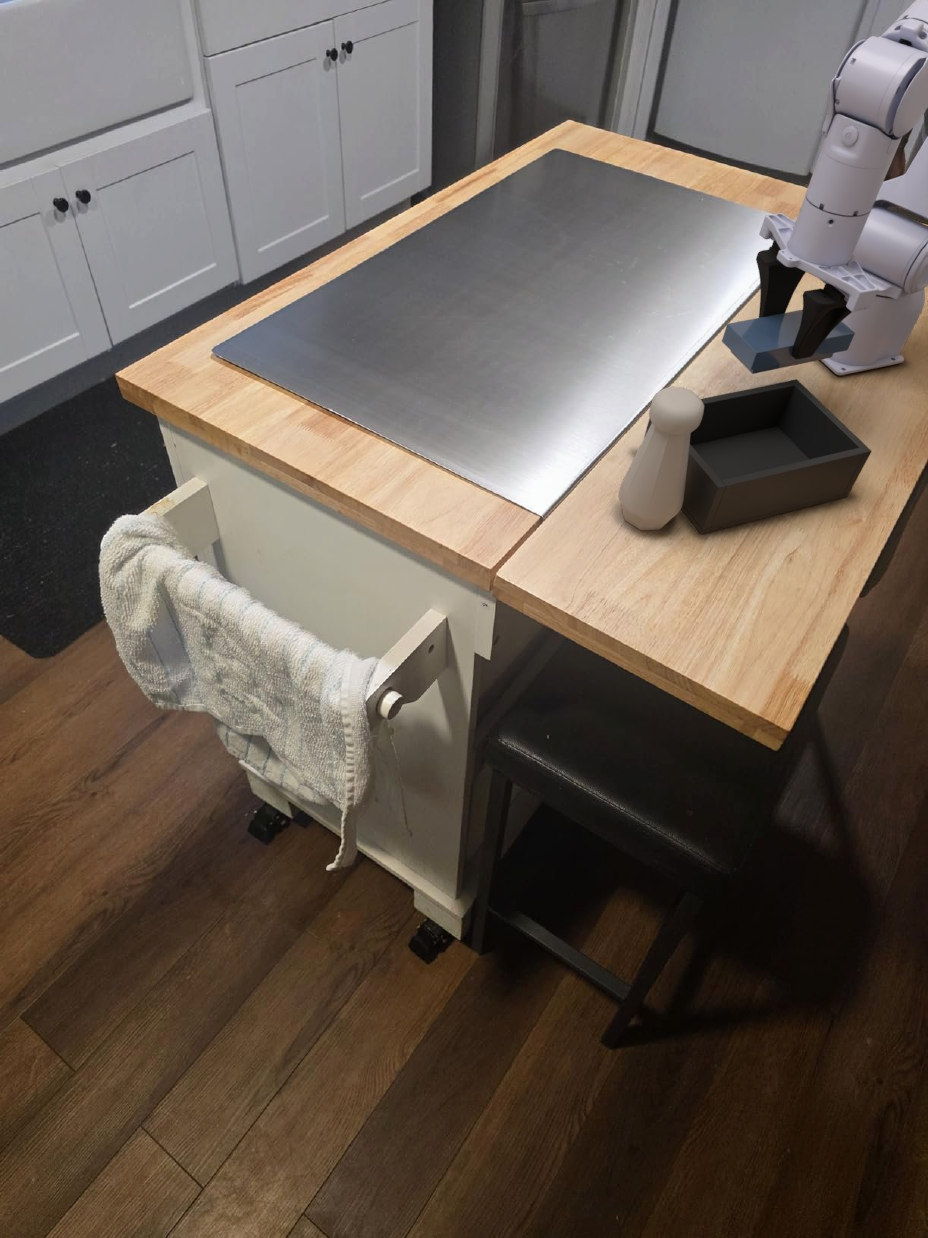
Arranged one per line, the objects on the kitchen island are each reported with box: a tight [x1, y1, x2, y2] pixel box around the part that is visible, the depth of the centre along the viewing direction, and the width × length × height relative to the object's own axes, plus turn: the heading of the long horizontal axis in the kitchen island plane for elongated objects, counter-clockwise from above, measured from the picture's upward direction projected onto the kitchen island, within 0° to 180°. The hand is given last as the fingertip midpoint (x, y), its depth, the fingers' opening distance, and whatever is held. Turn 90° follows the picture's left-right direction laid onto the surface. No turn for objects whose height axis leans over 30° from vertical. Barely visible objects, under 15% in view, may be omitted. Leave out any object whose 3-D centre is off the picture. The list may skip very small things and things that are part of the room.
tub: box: [643, 379, 873, 535], centre depth 83 cm, size 17×12×6 cm
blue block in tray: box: [721, 309, 855, 375], centre depth 87 cm, size 5×12×3 cm, turn 112°
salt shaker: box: [617, 385, 704, 531], centre depth 75 cm, size 6×6×13 cm
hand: (784, 339), depth 86 cm, fingers closed on blue block in tray, 5 cm apart
